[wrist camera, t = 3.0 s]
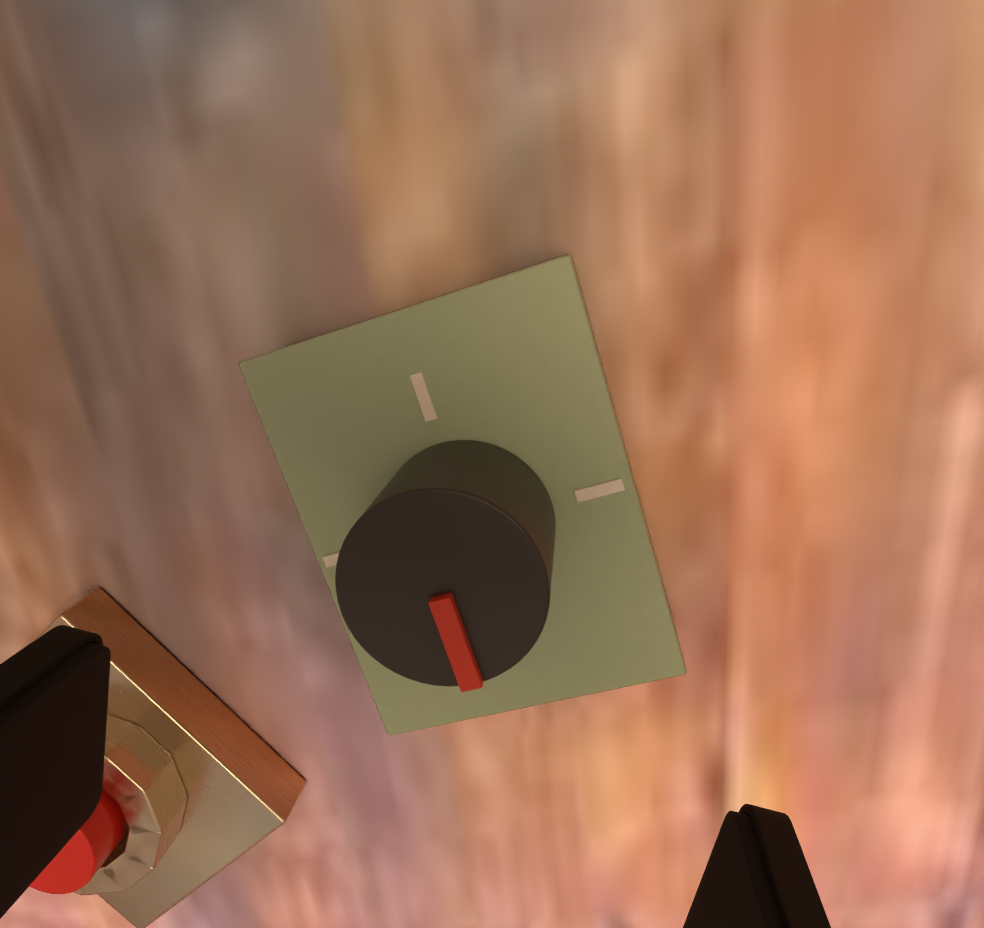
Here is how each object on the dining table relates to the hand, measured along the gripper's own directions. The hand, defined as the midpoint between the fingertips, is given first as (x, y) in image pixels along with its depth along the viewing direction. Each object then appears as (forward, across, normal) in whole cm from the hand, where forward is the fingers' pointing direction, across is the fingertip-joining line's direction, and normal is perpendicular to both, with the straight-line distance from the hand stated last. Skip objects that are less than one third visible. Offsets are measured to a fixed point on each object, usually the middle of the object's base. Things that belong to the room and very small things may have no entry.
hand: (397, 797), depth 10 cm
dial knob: (+11, +1, 0) cm, 11 cm away
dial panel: (+14, +1, 0) cm, 14 cm away
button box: (+14, +12, +14) cm, 24 cm away
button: (+11, +12, +14) cm, 22 cm away
